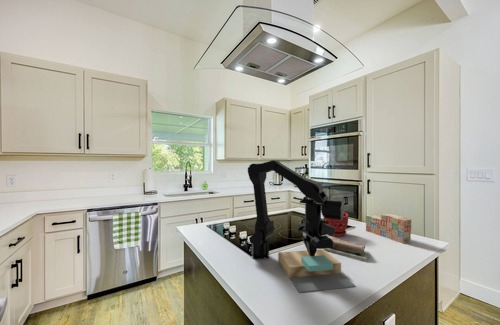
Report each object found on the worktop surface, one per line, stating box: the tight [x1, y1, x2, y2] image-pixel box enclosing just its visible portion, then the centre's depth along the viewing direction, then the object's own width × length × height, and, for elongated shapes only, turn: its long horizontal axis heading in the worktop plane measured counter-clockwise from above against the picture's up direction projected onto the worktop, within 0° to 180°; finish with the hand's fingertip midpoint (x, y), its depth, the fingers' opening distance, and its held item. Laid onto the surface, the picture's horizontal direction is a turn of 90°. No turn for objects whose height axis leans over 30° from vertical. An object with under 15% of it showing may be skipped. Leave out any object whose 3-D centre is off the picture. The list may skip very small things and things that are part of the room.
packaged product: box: [324, 237, 370, 262], centre depth 98 cm, size 18×5×10 cm
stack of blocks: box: [365, 212, 412, 245], centre depth 120 cm, size 21×6×12 cm, turn 25°
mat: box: [288, 272, 356, 294], centre depth 73 cm, size 20×8×1 cm, turn 101°
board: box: [277, 249, 342, 279], centre depth 83 cm, size 20×12×4 cm, turn 101°
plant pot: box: [322, 211, 349, 237], centre depth 121 cm, size 13×13×12 cm
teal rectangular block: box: [301, 255, 333, 272], centre depth 76 cm, size 9×6×2 cm, turn 101°
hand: (311, 257), depth 80 cm, fingers closed
